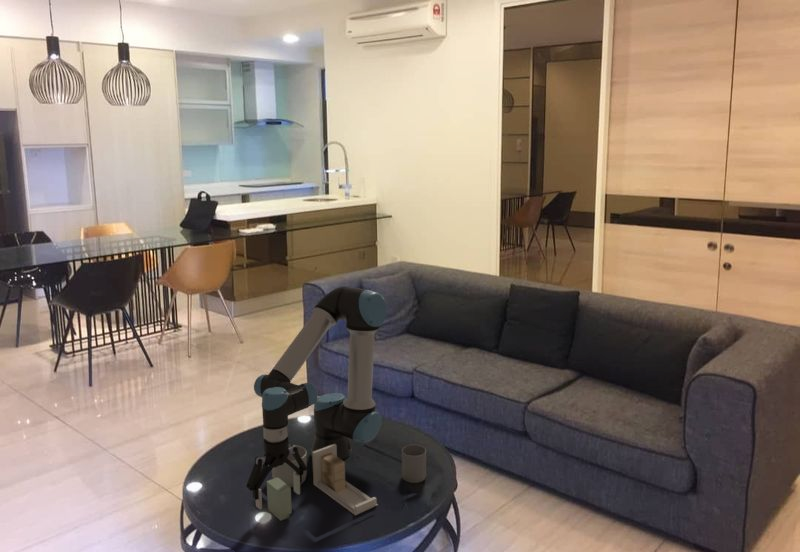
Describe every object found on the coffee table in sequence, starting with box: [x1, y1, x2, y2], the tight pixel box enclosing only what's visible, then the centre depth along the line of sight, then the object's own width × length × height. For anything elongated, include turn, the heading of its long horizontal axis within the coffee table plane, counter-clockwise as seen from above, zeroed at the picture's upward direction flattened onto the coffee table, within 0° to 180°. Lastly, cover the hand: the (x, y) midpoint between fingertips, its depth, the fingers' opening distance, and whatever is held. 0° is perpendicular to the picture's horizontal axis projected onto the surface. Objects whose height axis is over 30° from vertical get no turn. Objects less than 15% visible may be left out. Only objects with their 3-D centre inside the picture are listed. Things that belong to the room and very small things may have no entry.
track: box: [312, 444, 379, 516], centre depth 215 cm, size 24×9×13 cm, turn 40°
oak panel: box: [321, 453, 346, 493], centre depth 220 cm, size 8×4×10 cm, turn 40°
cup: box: [401, 444, 427, 484], centre depth 228 cm, size 8×8×10 cm
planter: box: [271, 444, 308, 488], centre depth 225 cm, size 12×12×11 cm
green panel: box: [266, 477, 293, 522], centre depth 207 cm, size 8×4×10 cm, turn 40°
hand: (278, 500), depth 207 cm, fingers open, 13 cm apart
